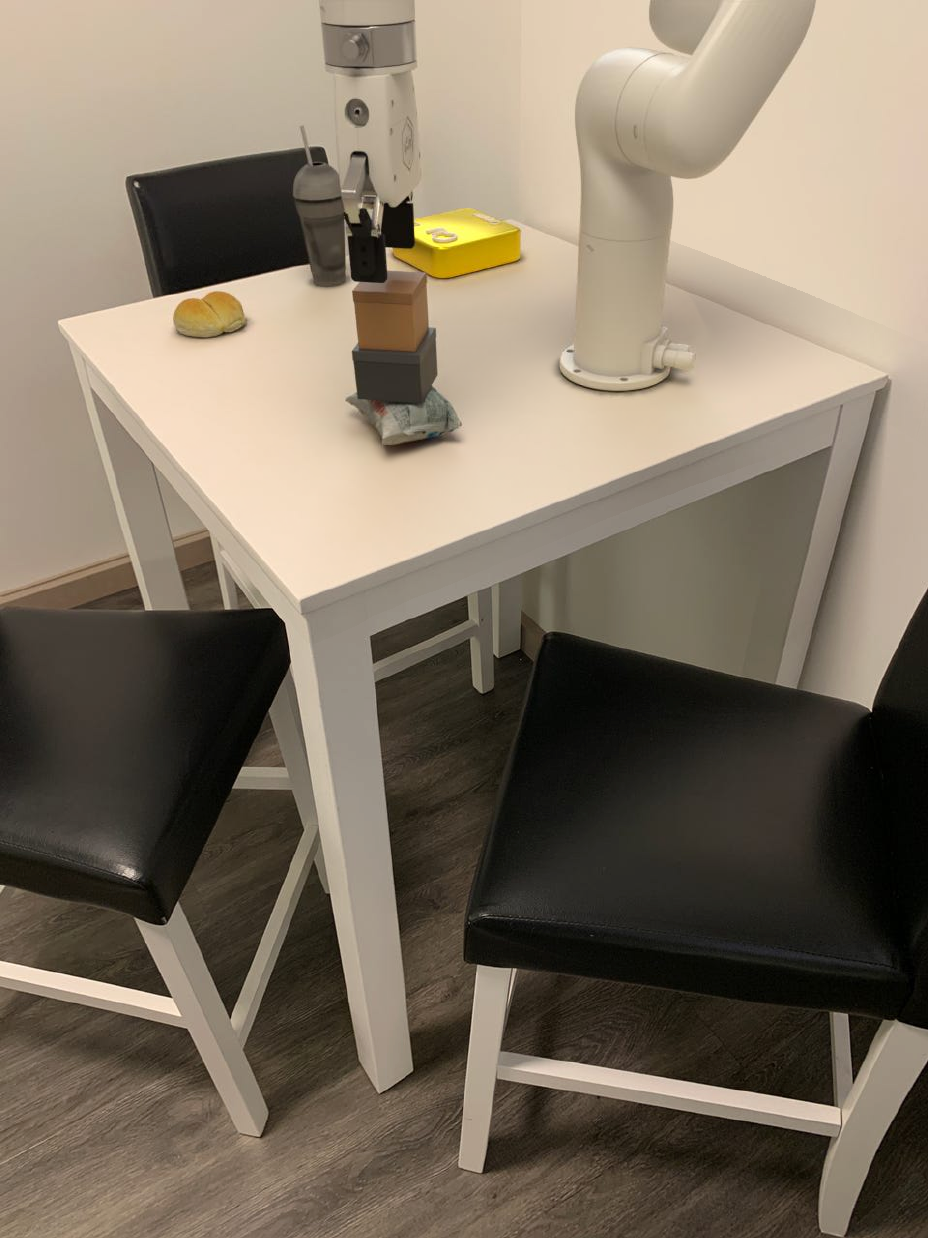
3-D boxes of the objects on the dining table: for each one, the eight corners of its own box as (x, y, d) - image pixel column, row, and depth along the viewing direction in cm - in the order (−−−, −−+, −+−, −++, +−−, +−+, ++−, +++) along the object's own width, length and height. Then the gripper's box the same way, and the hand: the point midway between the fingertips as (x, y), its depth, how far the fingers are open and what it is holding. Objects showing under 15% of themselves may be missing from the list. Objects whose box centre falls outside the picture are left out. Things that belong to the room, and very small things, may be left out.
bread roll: (168, 324, 122) (161, 294, 119) (233, 309, 125) (228, 280, 123) (187, 345, 116) (180, 313, 114) (255, 329, 119) (249, 298, 117)
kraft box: (429, 329, 92) (426, 271, 89) (415, 352, 88) (411, 293, 85) (374, 326, 93) (369, 269, 90) (357, 348, 89) (351, 290, 86)
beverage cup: (352, 289, 130) (335, 130, 117) (300, 290, 130) (278, 132, 117) (357, 271, 135) (342, 118, 123) (308, 272, 136) (287, 120, 123)
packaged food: (383, 464, 92) (380, 418, 88) (346, 414, 100) (341, 371, 97) (464, 445, 94) (464, 400, 91) (421, 399, 103) (419, 356, 100)
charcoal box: (438, 374, 96) (435, 327, 93) (422, 403, 91) (419, 354, 88) (375, 370, 97) (371, 323, 94) (356, 399, 92) (351, 350, 89)
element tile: (526, 259, 137) (526, 225, 134) (439, 281, 131) (438, 246, 128) (470, 234, 147) (469, 202, 144) (387, 253, 141) (385, 220, 138)
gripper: (385, 65, 68) (399, 298, 79) (439, 33, 81) (445, 237, 92) (288, 64, 69) (315, 293, 80) (357, 32, 83) (372, 233, 93)
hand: (384, 263), depth 86 cm, fingers open, 9 cm apart
